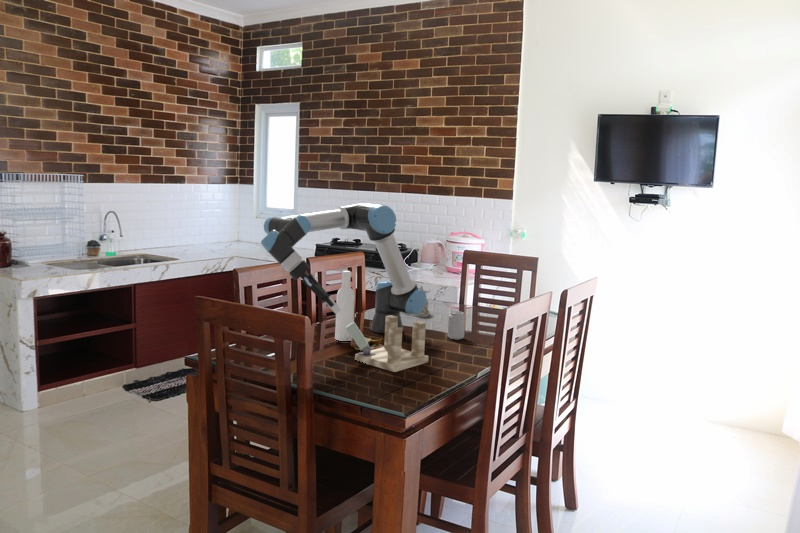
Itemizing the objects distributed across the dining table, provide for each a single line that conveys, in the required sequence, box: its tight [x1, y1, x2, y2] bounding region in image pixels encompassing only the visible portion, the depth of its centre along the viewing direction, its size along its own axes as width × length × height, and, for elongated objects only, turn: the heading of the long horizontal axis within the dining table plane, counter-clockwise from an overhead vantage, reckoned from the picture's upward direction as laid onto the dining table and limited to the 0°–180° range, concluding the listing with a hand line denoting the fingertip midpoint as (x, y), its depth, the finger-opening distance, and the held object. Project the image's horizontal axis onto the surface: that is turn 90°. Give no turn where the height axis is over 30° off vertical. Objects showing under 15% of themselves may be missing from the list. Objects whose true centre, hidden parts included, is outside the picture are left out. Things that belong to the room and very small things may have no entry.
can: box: [446, 310, 466, 341], centre depth 289 cm, size 8×8×12 cm
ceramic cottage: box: [400, 285, 430, 318], centre depth 339 cm, size 16×16×15 cm
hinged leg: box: [346, 321, 371, 355], centre depth 244 cm, size 4×4×13 cm
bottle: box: [334, 270, 356, 341], centre depth 274 cm, size 8×8×30 cm
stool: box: [354, 315, 429, 373], centre depth 246 cm, size 20×20×16 cm
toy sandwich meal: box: [349, 337, 384, 352], centre depth 264 cm, size 12×14×5 cm
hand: (338, 311), depth 242 cm, fingers closed
